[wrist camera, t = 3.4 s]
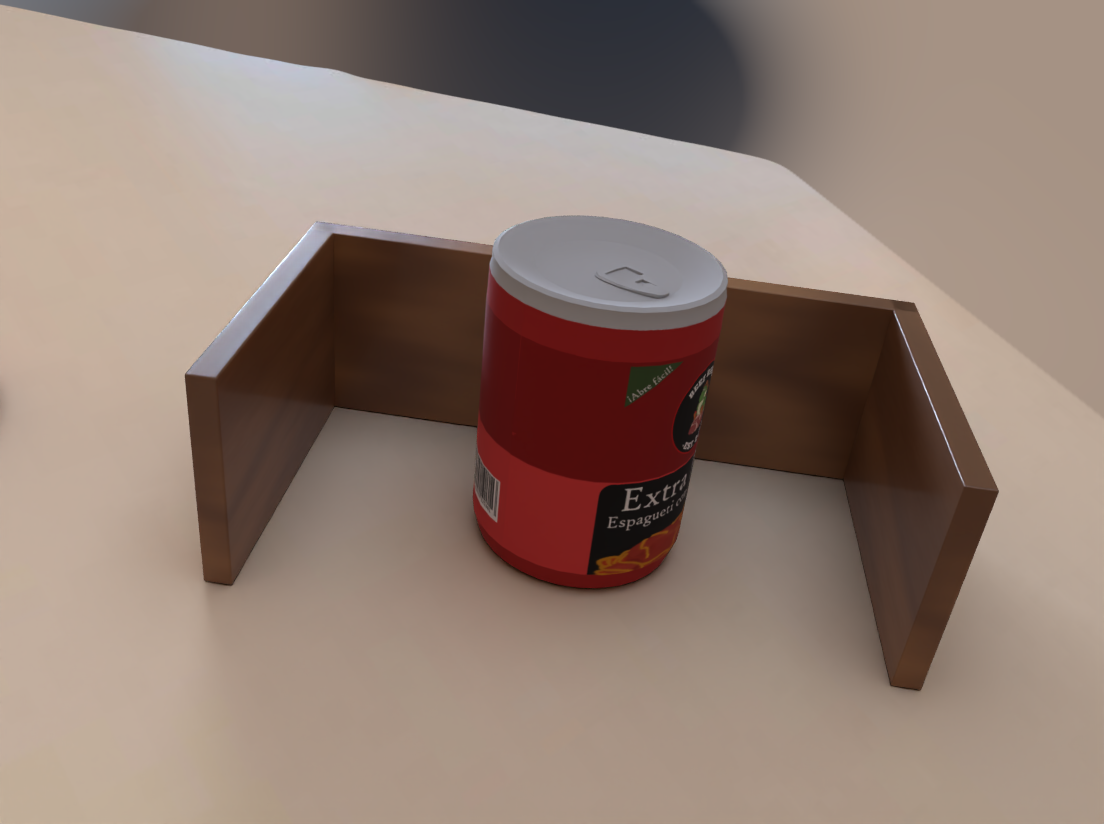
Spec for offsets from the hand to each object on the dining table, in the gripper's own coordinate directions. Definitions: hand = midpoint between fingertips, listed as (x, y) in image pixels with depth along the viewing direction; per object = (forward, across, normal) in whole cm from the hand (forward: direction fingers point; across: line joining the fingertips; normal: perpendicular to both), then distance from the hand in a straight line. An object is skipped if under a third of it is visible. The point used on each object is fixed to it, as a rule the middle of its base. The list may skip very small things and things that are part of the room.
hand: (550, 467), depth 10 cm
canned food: (+23, 0, -18) cm, 30 cm away
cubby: (+23, 0, -18) cm, 30 cm away
